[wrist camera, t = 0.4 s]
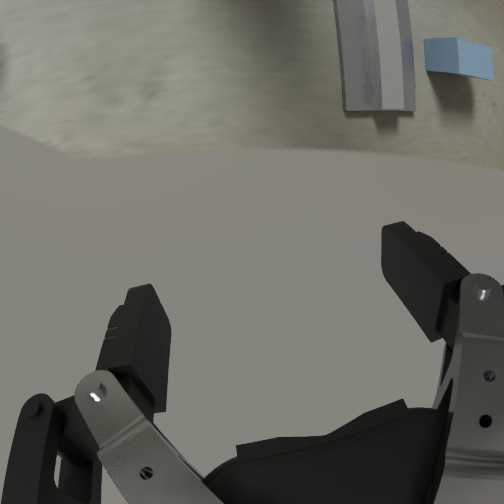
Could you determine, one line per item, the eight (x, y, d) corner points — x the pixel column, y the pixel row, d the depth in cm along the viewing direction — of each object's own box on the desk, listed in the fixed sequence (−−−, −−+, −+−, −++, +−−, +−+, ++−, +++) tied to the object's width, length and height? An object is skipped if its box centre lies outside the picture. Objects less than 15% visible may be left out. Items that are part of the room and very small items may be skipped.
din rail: (326, -40, 25) (336, -49, 22) (398, -28, 25) (412, -34, 22) (343, 110, 35) (355, 113, 32) (411, 110, 35) (426, 114, 32)
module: (423, 39, 30) (457, 37, 24) (458, 46, 31) (491, 48, 25) (425, 70, 33) (459, 73, 27) (459, 75, 33) (493, 80, 27)
